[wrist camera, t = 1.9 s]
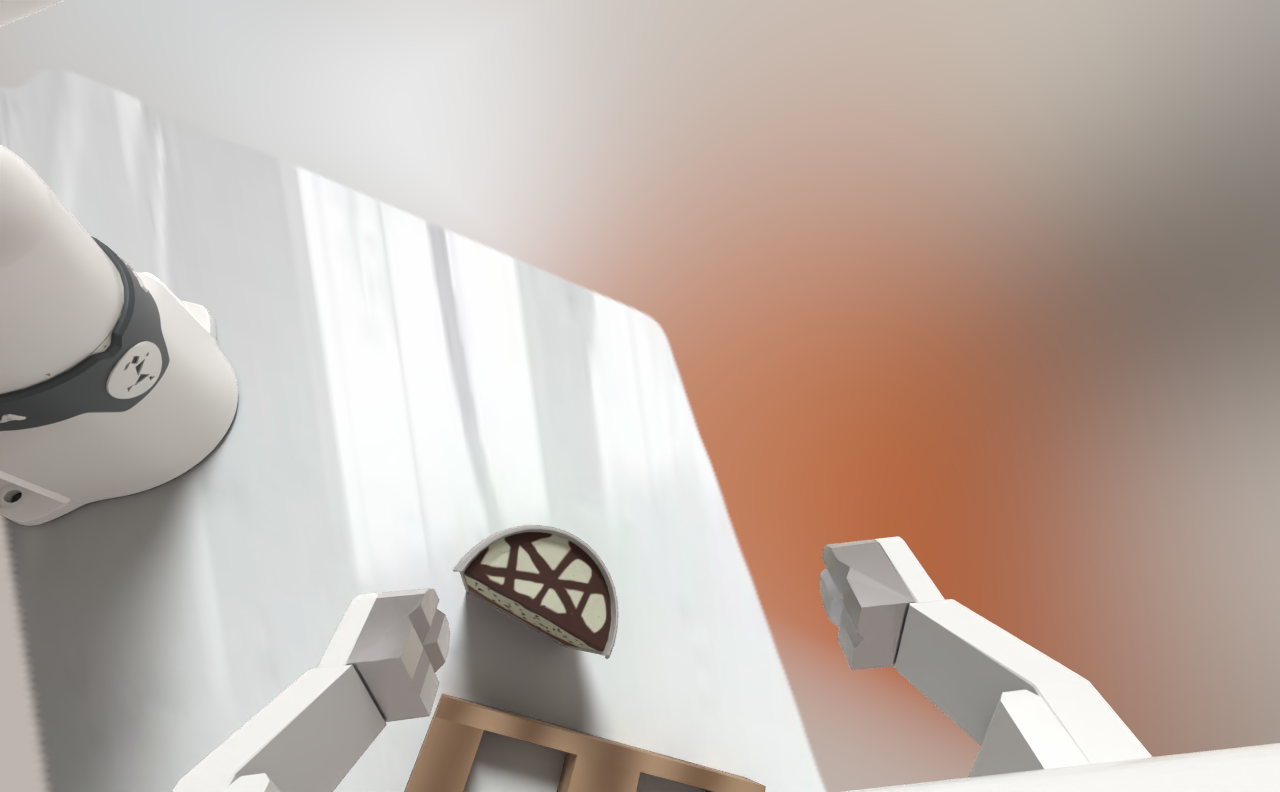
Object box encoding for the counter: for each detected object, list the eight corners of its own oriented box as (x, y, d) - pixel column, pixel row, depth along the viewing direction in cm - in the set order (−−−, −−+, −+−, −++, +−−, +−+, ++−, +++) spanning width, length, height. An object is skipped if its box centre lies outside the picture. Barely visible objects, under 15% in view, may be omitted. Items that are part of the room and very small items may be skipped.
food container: (613, 586, 47) (653, 574, 38) (580, 656, 44) (615, 660, 35) (492, 515, 46) (505, 486, 37) (449, 581, 43) (453, 566, 34)
